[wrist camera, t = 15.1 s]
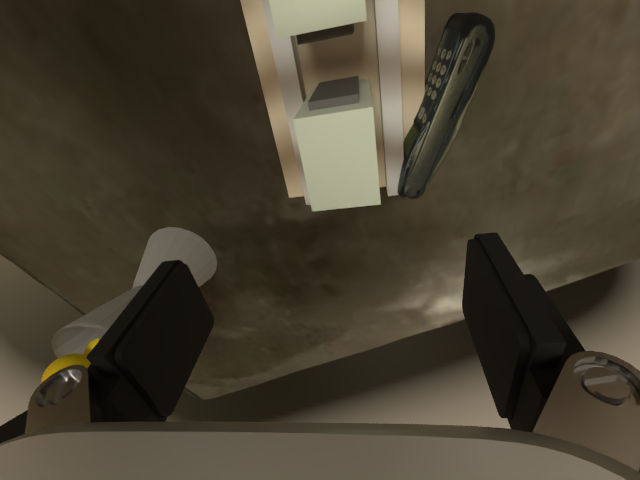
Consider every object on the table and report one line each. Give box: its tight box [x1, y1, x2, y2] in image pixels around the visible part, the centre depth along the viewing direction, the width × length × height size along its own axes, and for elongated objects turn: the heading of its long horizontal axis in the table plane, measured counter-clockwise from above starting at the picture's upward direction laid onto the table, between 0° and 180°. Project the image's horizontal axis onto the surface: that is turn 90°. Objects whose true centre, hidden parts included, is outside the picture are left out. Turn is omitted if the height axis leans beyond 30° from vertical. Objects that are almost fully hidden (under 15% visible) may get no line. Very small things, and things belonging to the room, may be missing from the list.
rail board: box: [240, 0, 425, 205], centre depth 23 cm, size 20×13×12 cm, turn 10°
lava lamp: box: [41, 227, 217, 383], centre depth 26 cm, size 9×9×35 cm
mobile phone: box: [397, 13, 495, 198], centre depth 27 cm, size 5×3×15 cm
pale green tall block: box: [293, 76, 381, 211], centre depth 24 cm, size 4×6×10 cm
